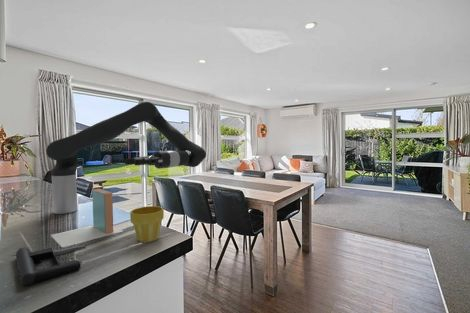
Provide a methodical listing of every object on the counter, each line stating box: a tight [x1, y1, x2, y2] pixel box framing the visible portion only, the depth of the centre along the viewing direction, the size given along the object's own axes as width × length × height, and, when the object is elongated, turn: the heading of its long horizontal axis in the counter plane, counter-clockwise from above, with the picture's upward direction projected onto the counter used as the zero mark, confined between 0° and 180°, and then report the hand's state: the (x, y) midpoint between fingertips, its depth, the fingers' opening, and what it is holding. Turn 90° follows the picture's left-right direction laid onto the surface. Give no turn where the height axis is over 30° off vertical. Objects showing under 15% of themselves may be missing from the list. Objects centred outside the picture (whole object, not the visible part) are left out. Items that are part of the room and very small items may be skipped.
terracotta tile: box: [91, 188, 114, 234], centre depth 86 cm, size 12×3×14 cm, turn 49°
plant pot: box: [129, 205, 165, 243], centre depth 79 cm, size 10×10×10 cm
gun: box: [12, 243, 87, 287], centre depth 63 cm, size 3×20×16 cm
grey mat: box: [50, 225, 123, 249], centre depth 82 cm, size 15×18×1 cm
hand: (129, 162), depth 92 cm, fingers open, 8 cm apart
